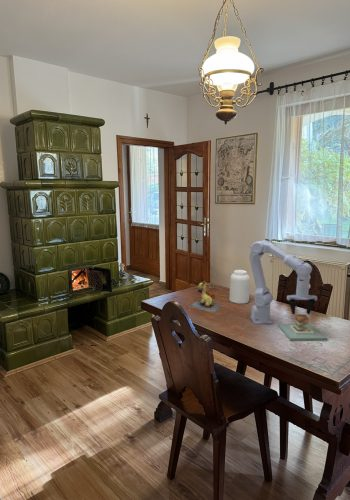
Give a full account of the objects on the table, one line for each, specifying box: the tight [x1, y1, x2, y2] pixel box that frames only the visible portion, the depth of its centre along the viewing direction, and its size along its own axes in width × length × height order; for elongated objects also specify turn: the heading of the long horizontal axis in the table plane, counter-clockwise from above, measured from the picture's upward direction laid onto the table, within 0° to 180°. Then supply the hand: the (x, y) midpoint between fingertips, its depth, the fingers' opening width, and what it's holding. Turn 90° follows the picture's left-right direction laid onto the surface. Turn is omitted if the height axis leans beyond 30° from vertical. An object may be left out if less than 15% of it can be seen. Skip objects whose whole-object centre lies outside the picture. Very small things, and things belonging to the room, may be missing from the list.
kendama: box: [197, 284, 216, 300], centre depth 235 cm, size 6×6×20 cm
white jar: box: [228, 269, 251, 304], centre depth 220 cm, size 12×12×20 cm
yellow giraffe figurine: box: [189, 280, 223, 312], centre depth 210 cm, size 16×18×16 cm
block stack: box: [294, 313, 310, 332], centre depth 171 cm, size 5×5×8 cm
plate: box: [277, 323, 329, 342], centre depth 172 cm, size 18×18×2 cm
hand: (300, 313), depth 173 cm, fingers open, 7 cm apart
